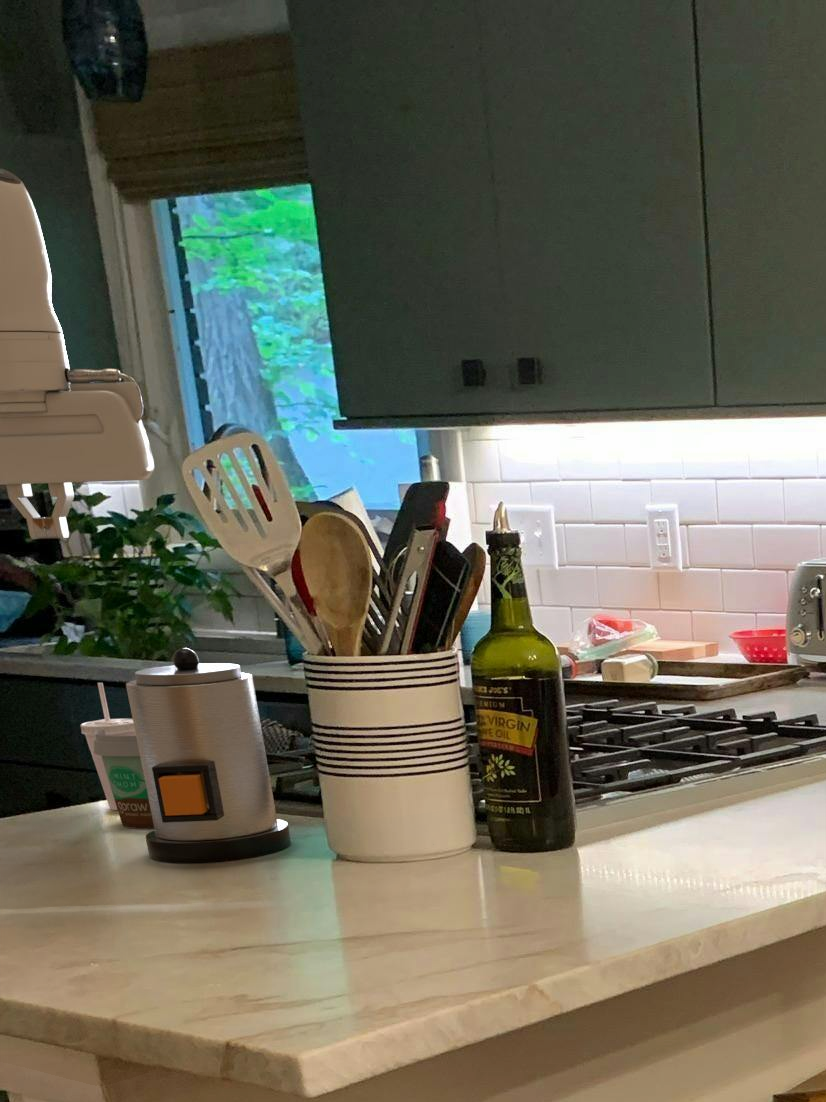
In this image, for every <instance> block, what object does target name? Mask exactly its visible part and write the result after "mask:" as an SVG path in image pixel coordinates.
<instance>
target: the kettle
mask: <svg viewBox="0 0 826 1102" xmlns="http://www.w3.org/2000/svg"><path fill="white" fill-rule="evenodd" d="M172 661H173V664H172V665H164V666H157V667H155V666H154V667H150V668H143V669H139V670H136V671H135V672H134V678H135V679H133V680H131V681H128V682H126V683H125V687H126V693H127V696H128V702H129V703H128V704H129V707H130V713H131V719H133V723H134V728H135V733H136V738H137V743H138V748H139V753H140V758H141V763H142V768H143V773H144V778H145V783H146V789H147V794H148V799H149V804H150V809H151V814H152V819H153V824H154V828H153V829H154V830H152V831H150V832H148V833H147V834H146V835H145V841H146V847H147V852H148V856H149V858H150V859H151V860H154V861H157V862H163V863H170V864H171V863H173V864H204V863H220V862H229V861H236V860H243V859H251V858H256V857H262V856H265V855H270V854H274V853H277V852H280V851H282V850H284V849H287V848H288V847H290V845H291V844H292V840H291V834H290V827H289V824H288V822H287V821H285V820H283V819H278V818H277V812H276V811H277V810H276V806H275V800H274V795H273V794H274V793H273V789H272V782H271V775H270V772H269V766H268V765H269V764H268V759H267V758H268V757H267V753H266V747H265V741H264V736H263V730H262V724H261V719H260V711H259V708H258V706H259V705H258V701H257V695H256V688H255V683H254V677H253V675H252V674H251V673H247V672H246V673H245V672H242V670H241V666H240V665H239V664H236V663H226V662H224V663H221V662H215V663H213V662H212V663H206V662H205V663H200V659H199V656H198V654H197V653H196V651H194V650H193V649H190V648H187V647H182V648H178V649H177V650H176V651H175V652H174V654H173V657H172ZM193 774H201V777H202V783H203V788H204V794H205V799H206V804H207V810H208V811H207V812H205V813H203V814H195V815H171V816H166V815H165V810H164V805H163V800H162V794H161V789H160V784H159V778H161V777H163V776H168V775H193Z"/></svg>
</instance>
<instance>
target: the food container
mask: <svg viewBox="0 0 826 1102" xmlns="http://www.w3.org/2000/svg"><path fill="white" fill-rule="evenodd" d="M95 734H96V738H94V753H95V754H97V755H101V757H102V760H103V763H104V767H105V770H106V773H107V777H108V780H109V783H110V786H111V790H112V793H113V796H114V800H115V803H116V806H117V810H116V811H117V813H118V816H119V819H120V823H121V825H122V827H125V828H128V829H143V830H144V829H146V830H147V829H154V824H153V819H152V814H151V809H150V804H149V799H148V794H147V789H146V783H145V778H144V773H143V768H142V763H141V758H140V753H139V748H138V743H137V738H136V736H106V734H105V730H104V729H103V730H99V731H97V732H96V733H95Z"/></svg>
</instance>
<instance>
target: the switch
mask: <svg viewBox="0 0 826 1102" xmlns="http://www.w3.org/2000/svg"><path fill="white" fill-rule="evenodd" d="M159 784H160V789H161V794H162V800H163V805H164V810H165V815H166V816H171V815H195V814H203V813H205V812H207V811H208V810H207V804H206V799H205V794H204V788H203V783H202V777H201V774H193V775H168V776H163V777H161V778H159Z"/></svg>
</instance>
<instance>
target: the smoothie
mask: <svg viewBox="0 0 826 1102" xmlns="http://www.w3.org/2000/svg"><path fill="white" fill-rule="evenodd" d="M97 688H98V692H99V698H100V702H101V707H102V708H101V709H102V712H103V717H104V718H102V719H97V720H92V721H91V720H90V721H86V722H82V723H81V724H80V731H81V733H80V734H82V735H84V736H85V739H86V743H87V745H88V749H89V751H90V755H91V757H92V760H93V763H94V766H95V769H96V772H97V776H98V779H99V781H100V783H101V787H102V790H103V793H104V796H105V798H106V799H105V800H106V801H107V804H108V808H109V810H111V811H118V810H117V806H116V803H115V800H114V796H113V793H112V790H111V786H110V783H109V780H108V777H107V773H106V770H105V767H104V763H103V760H102V757H101V755H97V754H95V753H94V738H96V734H95V733H96V732H97V731H99V730H103V729H104V730H105V734H106V736H136V733H135V728H134V723H133V718H111V716H110V713H109V707H108V702H107V699H106V698H107V697H106V692H105V687H104V683H103V682H97Z"/></svg>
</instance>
